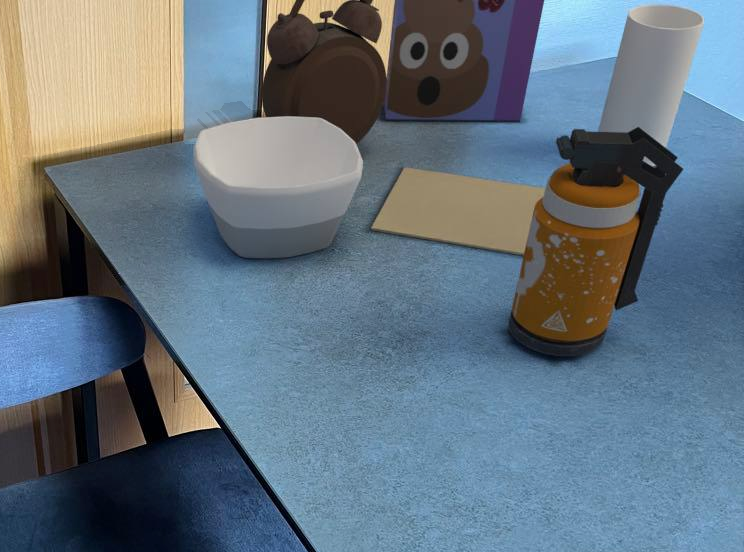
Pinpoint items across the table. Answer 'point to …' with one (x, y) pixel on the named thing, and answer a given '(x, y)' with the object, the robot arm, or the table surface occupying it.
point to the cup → (651, 70)
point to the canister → (589, 239)
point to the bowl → (277, 183)
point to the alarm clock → (327, 68)
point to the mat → (460, 210)
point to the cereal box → (460, 59)
